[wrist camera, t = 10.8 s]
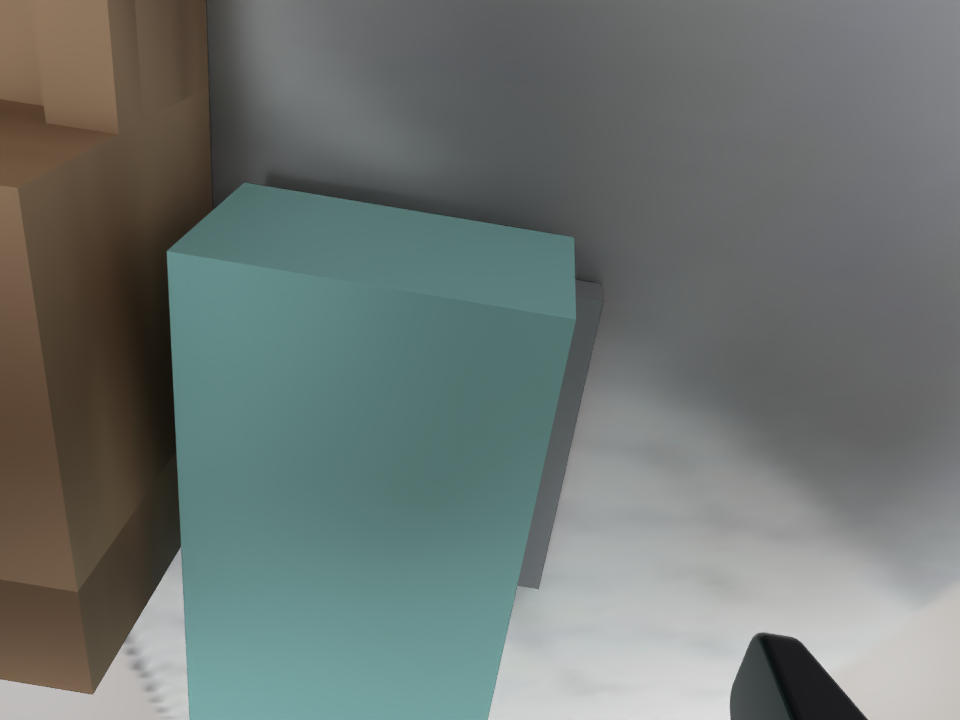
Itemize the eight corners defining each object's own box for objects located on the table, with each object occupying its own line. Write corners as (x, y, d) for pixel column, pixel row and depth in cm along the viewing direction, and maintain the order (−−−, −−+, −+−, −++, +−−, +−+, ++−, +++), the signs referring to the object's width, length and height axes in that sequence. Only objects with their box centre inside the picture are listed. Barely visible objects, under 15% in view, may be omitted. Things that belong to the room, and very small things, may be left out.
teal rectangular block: (488, 649, 15) (474, 775, 13) (243, 607, 15) (189, 725, 13) (574, 236, 11) (576, 319, 9) (243, 182, 11) (166, 251, 9)
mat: (539, 564, 15) (538, 589, 14) (234, 515, 15) (222, 537, 14) (601, 284, 12) (603, 301, 12) (229, 226, 12) (214, 240, 12)
